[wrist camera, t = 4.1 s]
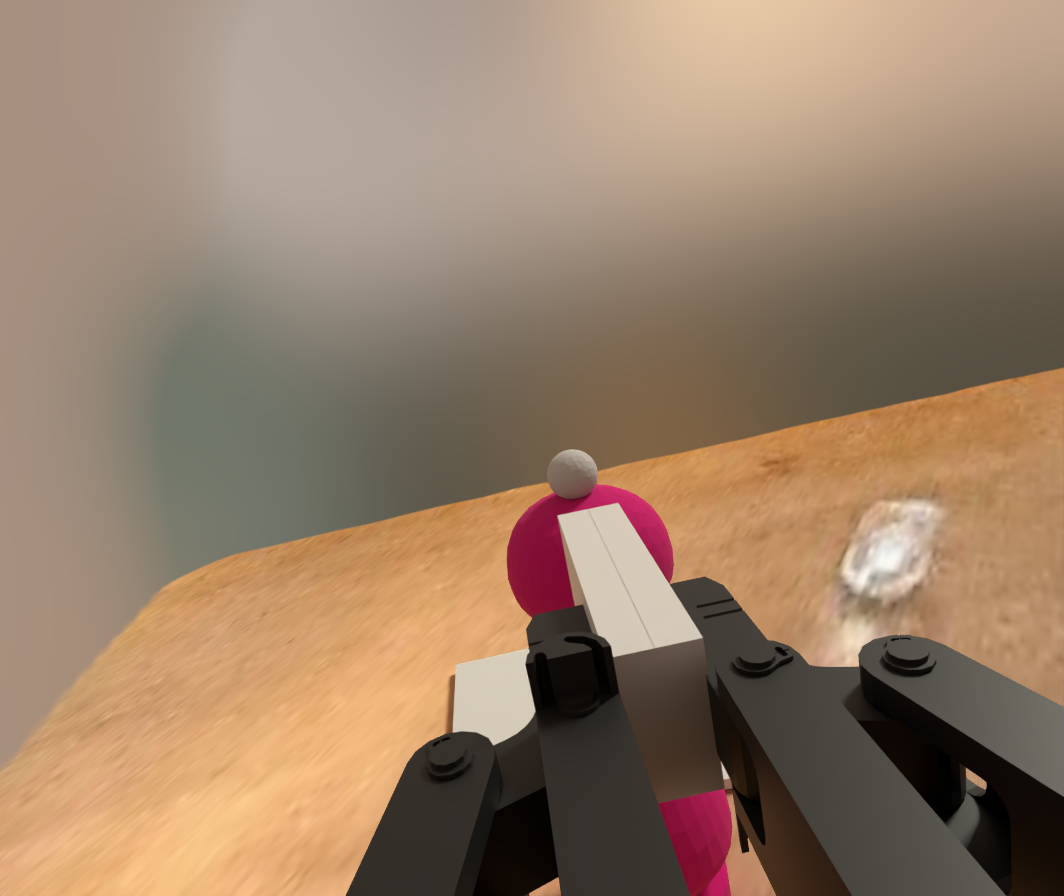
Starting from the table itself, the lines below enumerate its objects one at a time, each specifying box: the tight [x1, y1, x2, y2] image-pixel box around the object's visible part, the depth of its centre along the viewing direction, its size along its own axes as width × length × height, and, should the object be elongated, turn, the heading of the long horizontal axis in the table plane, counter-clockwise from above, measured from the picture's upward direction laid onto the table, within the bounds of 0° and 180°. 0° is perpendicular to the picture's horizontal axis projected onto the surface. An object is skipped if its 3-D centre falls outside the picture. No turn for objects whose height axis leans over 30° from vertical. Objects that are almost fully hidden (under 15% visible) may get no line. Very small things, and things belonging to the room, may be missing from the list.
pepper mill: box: [507, 450, 732, 896], centre depth 27 cm, size 7×7×20 cm
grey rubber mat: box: [453, 648, 732, 790], centre depth 42 cm, size 16×18×1 cm
